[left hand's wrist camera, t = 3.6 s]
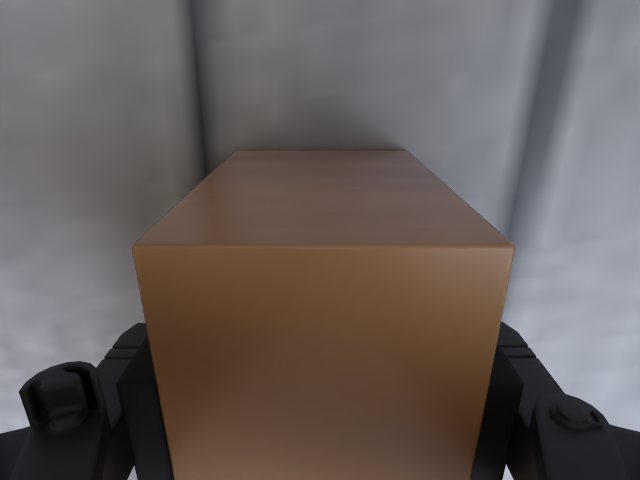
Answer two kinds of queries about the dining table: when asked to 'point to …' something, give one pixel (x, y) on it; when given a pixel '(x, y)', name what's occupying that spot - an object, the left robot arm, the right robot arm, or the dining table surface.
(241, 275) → the bar
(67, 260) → the dining table surface
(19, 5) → the dining table surface
